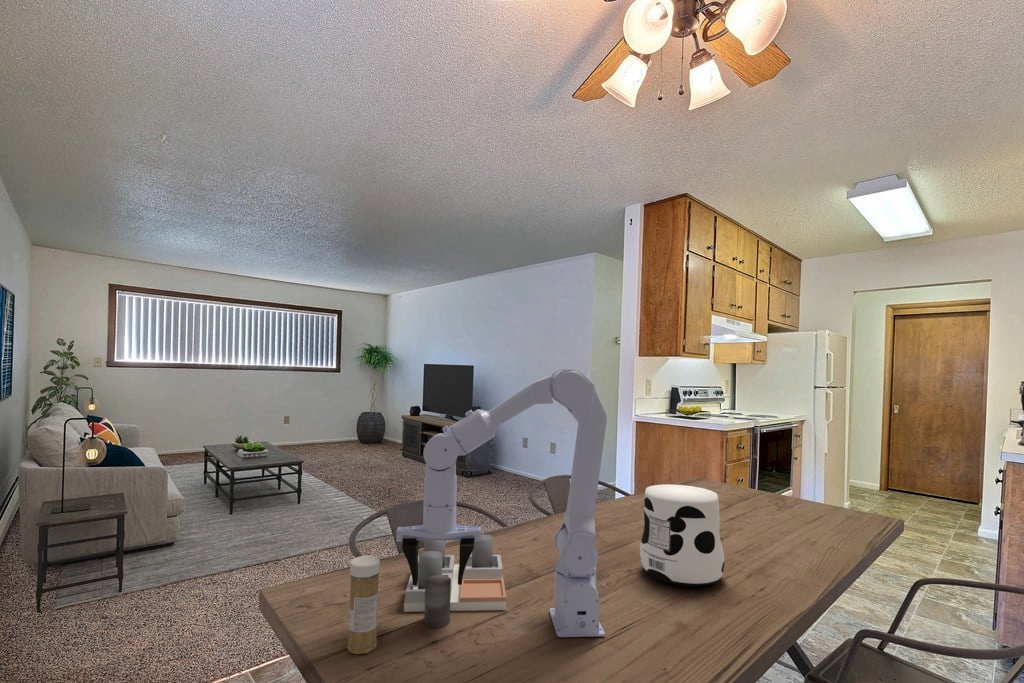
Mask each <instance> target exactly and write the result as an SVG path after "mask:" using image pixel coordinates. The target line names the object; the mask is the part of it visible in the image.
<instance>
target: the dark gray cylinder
mask: <svg viewBox="0 0 1024 683" xmlns="http://www.w3.org/2000/svg"><path fill="white" fill-rule="evenodd" d="M450 596H451V579H450V578H449V577H447V576H443V575H435V576H431V577H428V578H427V579H426V580H425V611H424V615H423V617H424V620H423V622H424V625H425V626H426V627H427V628H430V629H431V628H432V629H440V628H444V627H447V626H448V625H449V624H450V623H451V611H450Z"/></svg>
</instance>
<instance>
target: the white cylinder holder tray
mask: <svg viewBox="0 0 1024 683" xmlns="http://www.w3.org/2000/svg"><path fill="white" fill-rule="evenodd" d="M502 563H503V562H502V556H501V554H494V536H492V535H491V534H486V533H484V534H483V533H482V534H481V541H474V548H473V551H472V553H471V555H470V557H469V559H468V562H467V564H466V567H465V570H464V574H463V578H462V585H458V572H459V563H458V564H457V563H456V564H455V554H453V555H452V554H446V540H423V551H422V552H421V553H418V583H417V585H413V581H412V575H411V574H410V576H409V579H408V583H407V586H406V589H405V595H404V596H405V599H404V602H403V613H408V612H409V613H411V612H417V613H418V612H425V580H426V579H427V578H428V577H431V576H435V575H443V576H447V577H449V578H450V579H451V596H450V612H466V611H467V612H468V611H469V612H470V611H471V612H472V611H473V612H474V611H475V612H477V611H507V593H506V586H505V580H504V577H503V564H502Z"/></svg>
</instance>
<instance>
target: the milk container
mask: <svg viewBox="0 0 1024 683" xmlns="http://www.w3.org/2000/svg"><path fill="white" fill-rule="evenodd" d="M643 501H644V502H643V504H644V507H643V516H644V517H643V519H644V520H643V521H644V524H643V526H644V527H643V531H642V536H641V540H640V543H639V555H640V561H641V565H642V567H643V569H644V570H645V572H646V573H648V574H649V575H650V576H652V577H654V578H656V579H657V580H659V581H662V582H666V583H667V584H673V585H677V586H682V587H683V586H685V587H705V586H708V585H712V584H715V583H717V582H718V581H719V580H720V579H721V578H722V576H723V574H724V568H725V552H724V549H723V546H722V541H721V537H720V523H721V522H720V518H721V516H720V502H719V497H718V493H717V492H714V491H713V490H710V489H707V488H704V487H698V486H692V485H683V484H654V485H649V486H647V487H646V488H645V492H644V500H643Z"/></svg>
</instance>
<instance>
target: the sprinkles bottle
mask: <svg viewBox="0 0 1024 683" xmlns="http://www.w3.org/2000/svg"><path fill="white" fill-rule="evenodd" d="M380 571H381V560H380V558H379V557H378V556H375V555H362V556H361V555H360V556H358V557H355V558H353V559H352V560H351V561H350V564H349V575H350V592H349V593H350V594H349V602H348V606H349V608H348V626H347V627H348V641H347V650H348V652H349V653H351V654H353V655H364V654H368V653H370V652H372V651H373V650H375V649H376V648H377V645H378V641H377V628H378V620H379V619H378V615H379V613H378V612H379V574H380Z"/></svg>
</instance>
